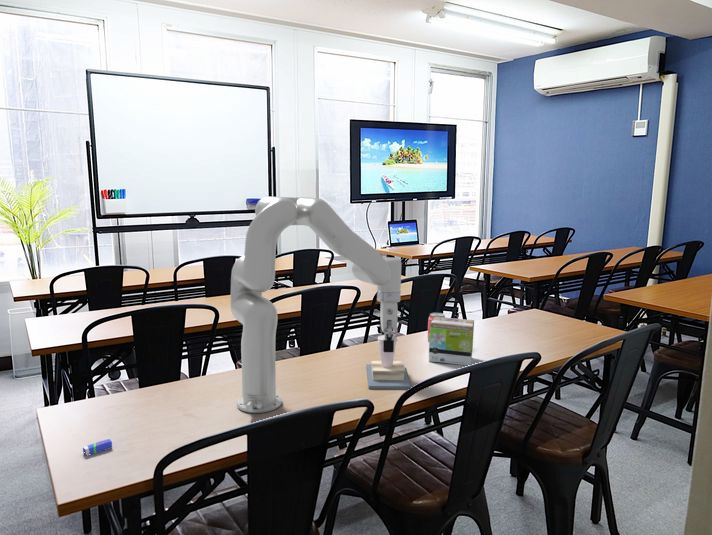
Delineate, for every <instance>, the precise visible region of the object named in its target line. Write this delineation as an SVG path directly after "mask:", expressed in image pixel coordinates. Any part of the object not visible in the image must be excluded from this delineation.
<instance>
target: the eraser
mask: <svg viewBox="0 0 712 535" xmlns="http://www.w3.org/2000/svg"><path fill="white" fill-rule="evenodd" d="M111 447H112V448H113V441H112V440H111V439H110V438H108V439H104V440H99V441H97V442H95V443H92V444H91V443H90V444H89V445H85V446H83V447H82V452H83V453H84V452H85V453H84V456H85V455H89V454H92V455H94V454H93V453H95V454H97V453H96V452H98V453H100V452H99V451H101V452H103V451H102V450H104V451H106V450H105V449H108V448H111ZM112 448H111V449H112ZM108 450H109V449H108ZM89 456H90V455H89Z"/></svg>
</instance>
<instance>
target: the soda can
mask: <svg viewBox="0 0 712 535" xmlns="http://www.w3.org/2000/svg"><path fill="white" fill-rule="evenodd" d="M434 317H444V318H446V315H445V313H442V312H431V313H429V316H428V321H427V342H428V343H429V341H430V324H431V322H432V320H433V318H434Z"/></svg>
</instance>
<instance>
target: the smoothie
mask: <svg viewBox="0 0 712 535" xmlns="http://www.w3.org/2000/svg"><path fill="white" fill-rule="evenodd" d="M384 340H385V336H384V335H382V334H380V335H379V336H377V341H378V347H379V357H380V358H379V359H380V361H381V366H382V367H384V368H390V367H392V366H393V361H394V359H395V353H396V352H395V351H396V345H397V342H398V337H397V335H393V340H394V352H384V351H383V347H384Z"/></svg>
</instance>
